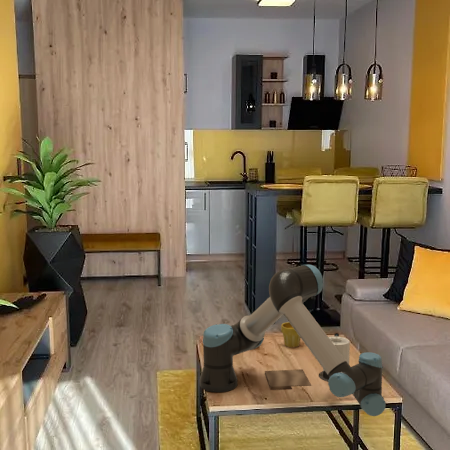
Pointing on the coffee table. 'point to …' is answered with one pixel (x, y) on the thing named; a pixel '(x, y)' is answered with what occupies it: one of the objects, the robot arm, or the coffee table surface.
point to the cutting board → (286, 379)
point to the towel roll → (341, 346)
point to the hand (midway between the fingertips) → (343, 365)
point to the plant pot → (290, 335)
